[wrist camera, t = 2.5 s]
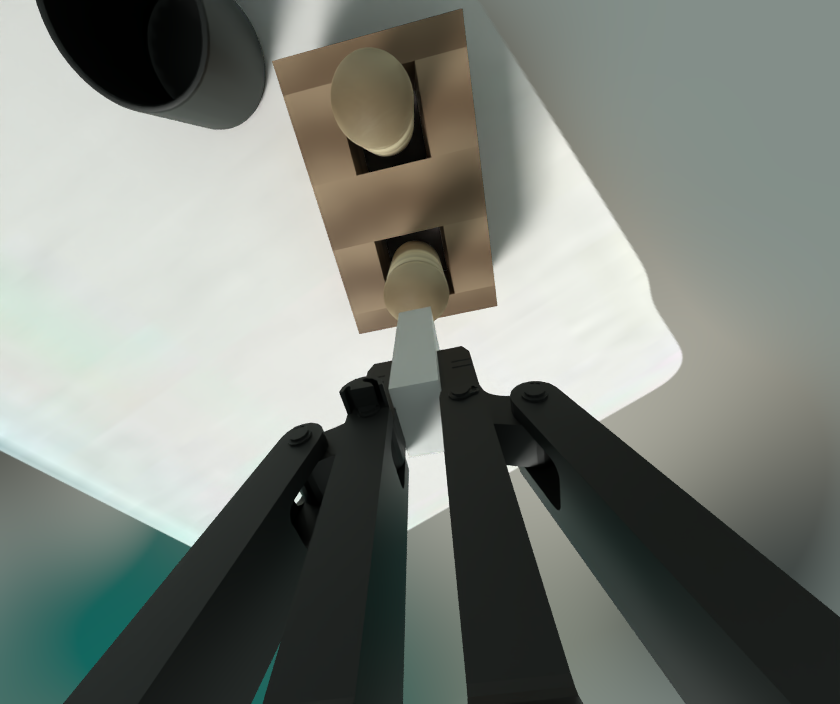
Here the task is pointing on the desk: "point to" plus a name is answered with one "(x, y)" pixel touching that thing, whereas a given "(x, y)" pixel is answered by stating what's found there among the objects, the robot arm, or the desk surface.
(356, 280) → the walnut block
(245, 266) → the desk surface
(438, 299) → the peg
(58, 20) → the mug
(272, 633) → the robot arm
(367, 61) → the peg
